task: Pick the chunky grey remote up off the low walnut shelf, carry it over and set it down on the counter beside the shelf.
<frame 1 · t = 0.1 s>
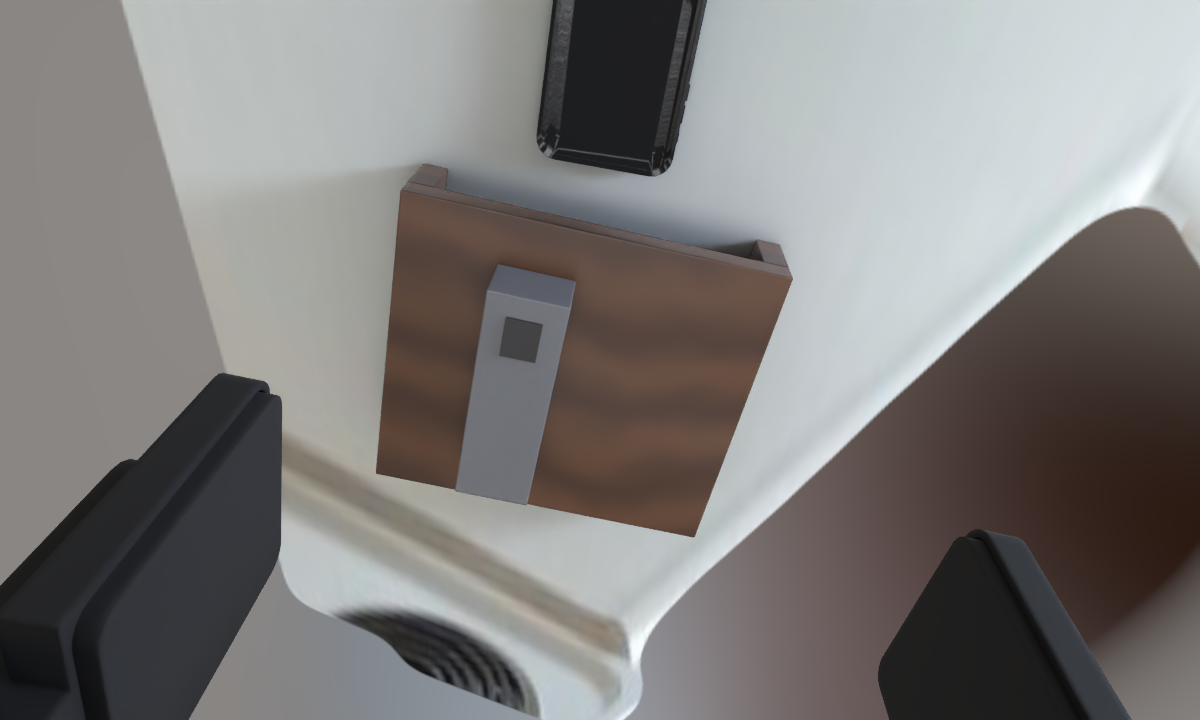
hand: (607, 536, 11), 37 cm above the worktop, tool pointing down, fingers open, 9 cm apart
shelf: (572, 345, 51), on the worktop
grey remote: (517, 374, 47), point 5 cm above the worktop, touching shelf
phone: (626, 24, 41), on the worktop
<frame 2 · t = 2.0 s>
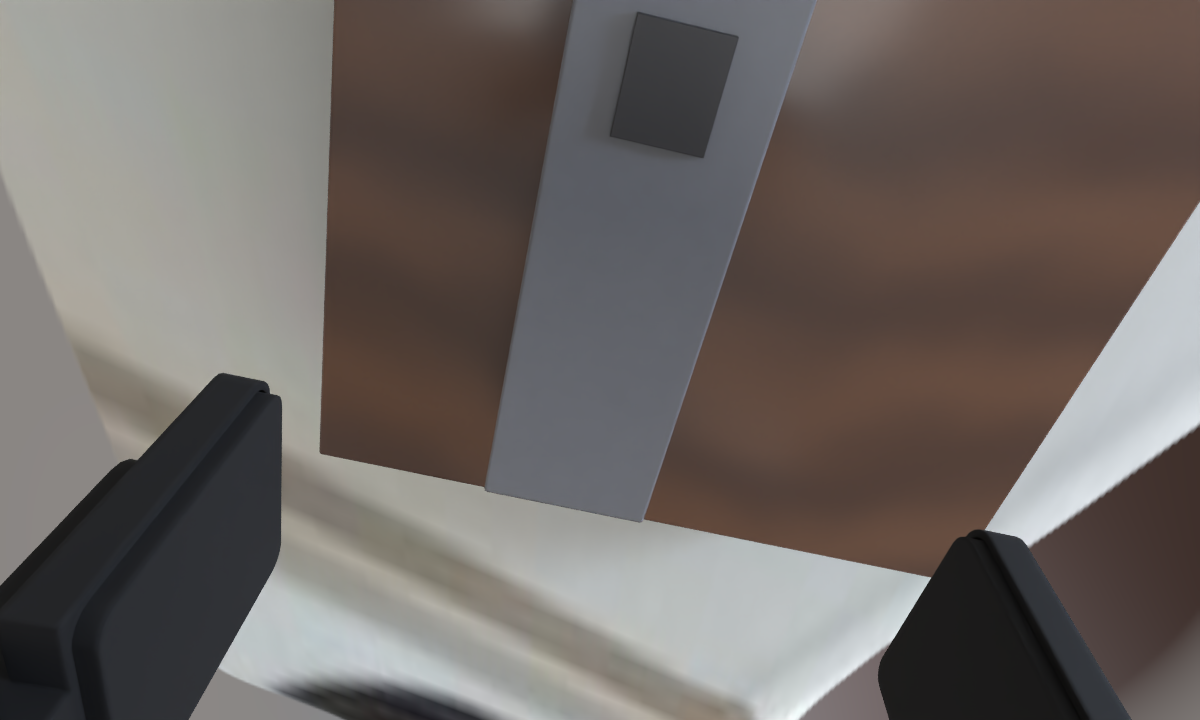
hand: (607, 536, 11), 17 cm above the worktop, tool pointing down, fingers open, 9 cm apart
shelf: (718, 192, 25), on the worktop
grey remote: (624, 229, 21), point 5 cm above the worktop, touching shelf
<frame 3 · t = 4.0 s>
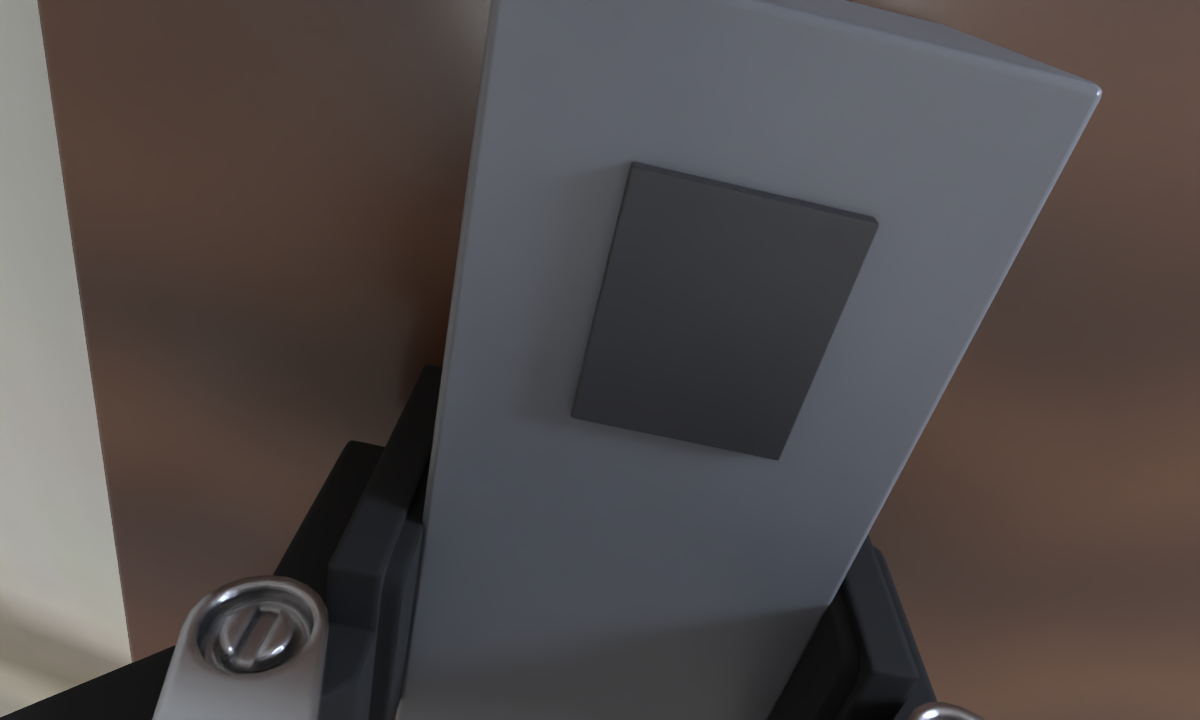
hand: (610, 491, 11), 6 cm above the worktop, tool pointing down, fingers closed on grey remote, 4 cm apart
shelf: (757, 350, 16), on the worktop
grey remote: (611, 468, 12), point 5 cm above the worktop, touching gripper, shelf
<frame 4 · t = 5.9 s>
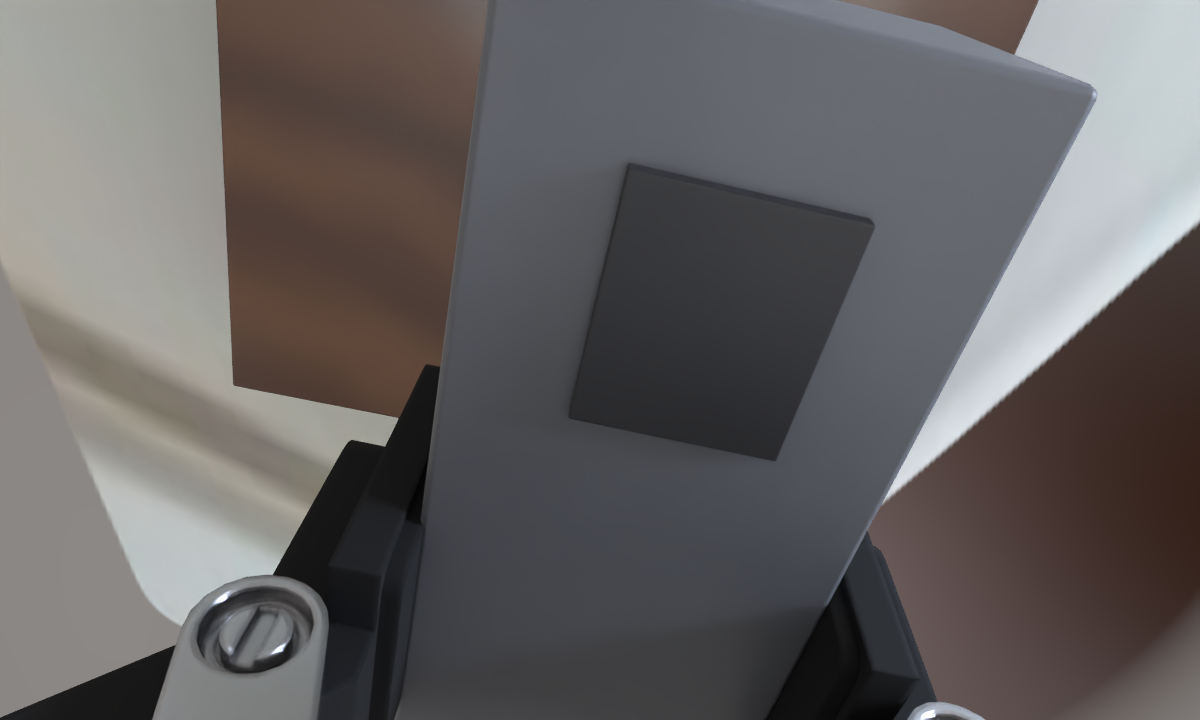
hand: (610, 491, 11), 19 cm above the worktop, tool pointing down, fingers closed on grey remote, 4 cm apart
shelf: (590, 145, 28), on the worktop
grey remote: (610, 468, 12), point 19 cm above the worktop, touching gripper
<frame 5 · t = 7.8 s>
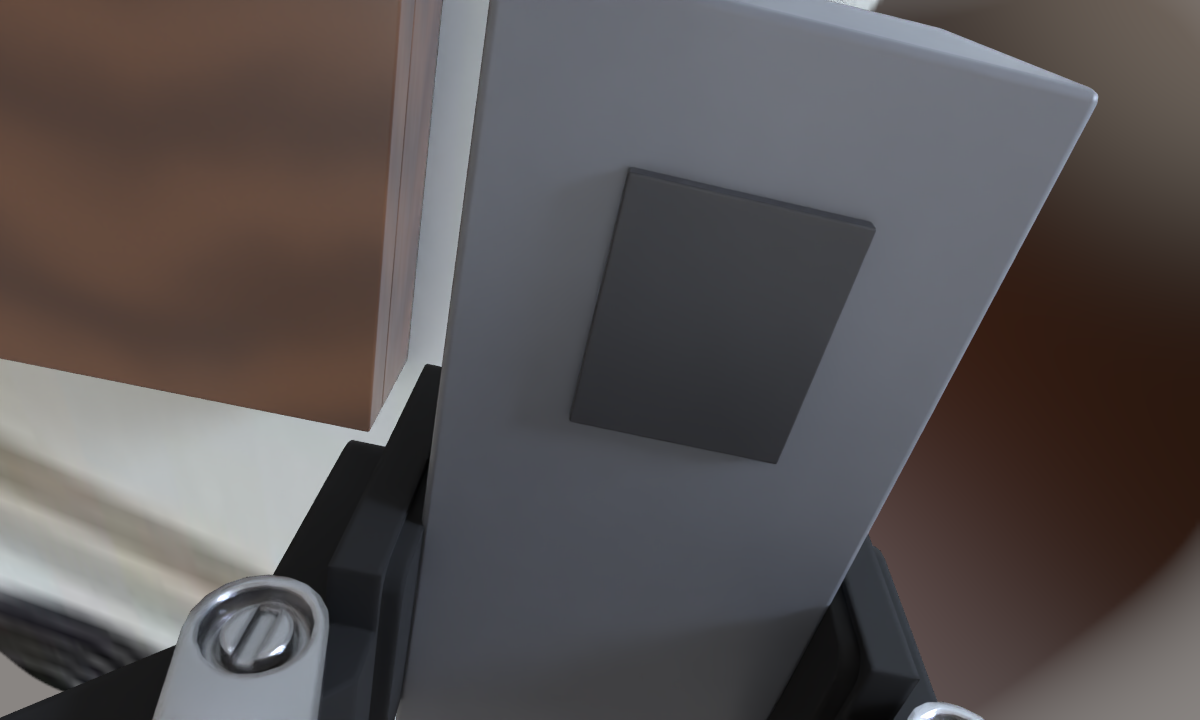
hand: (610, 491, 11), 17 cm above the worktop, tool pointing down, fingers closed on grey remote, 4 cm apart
shelf: (100, 36, 25), on the worktop
grey remote: (611, 470, 12), point 17 cm above the worktop, touching gripper
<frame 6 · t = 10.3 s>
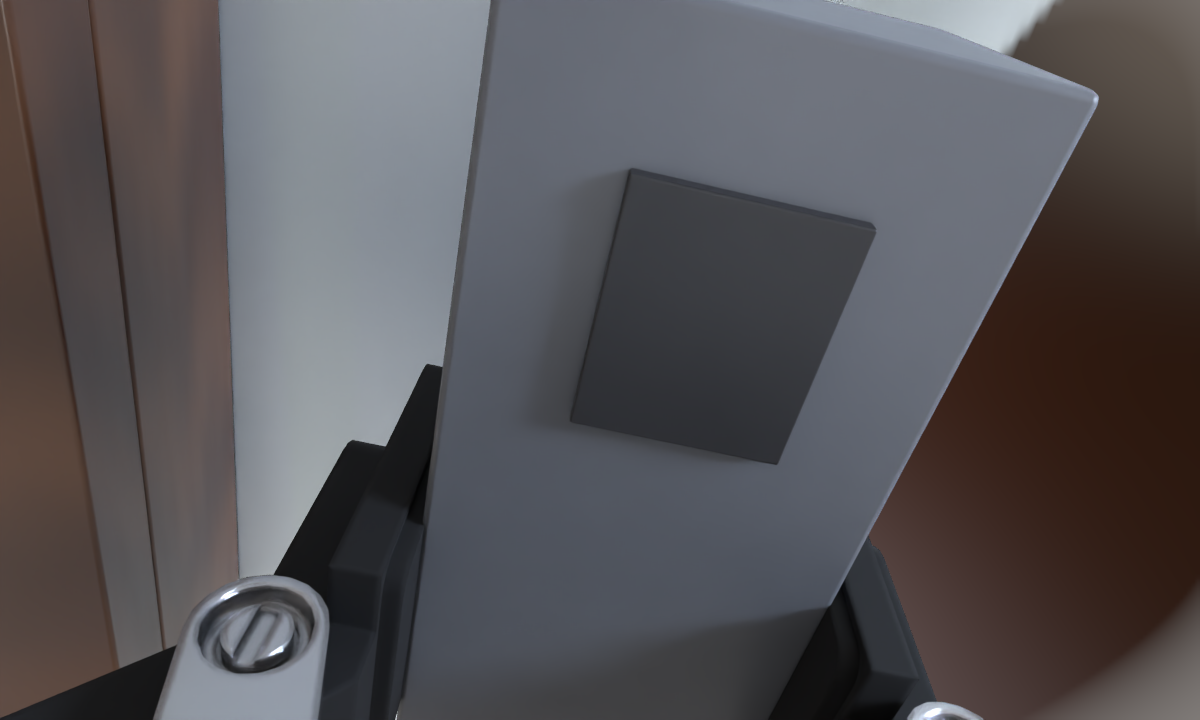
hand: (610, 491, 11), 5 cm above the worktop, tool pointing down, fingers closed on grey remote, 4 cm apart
grey remote: (611, 471, 12), point 5 cm above the worktop, touching gripper
when the fingers open (1 cm above the worktop, at t = 11.9 s): grey remote stays where it is, on the worktop.
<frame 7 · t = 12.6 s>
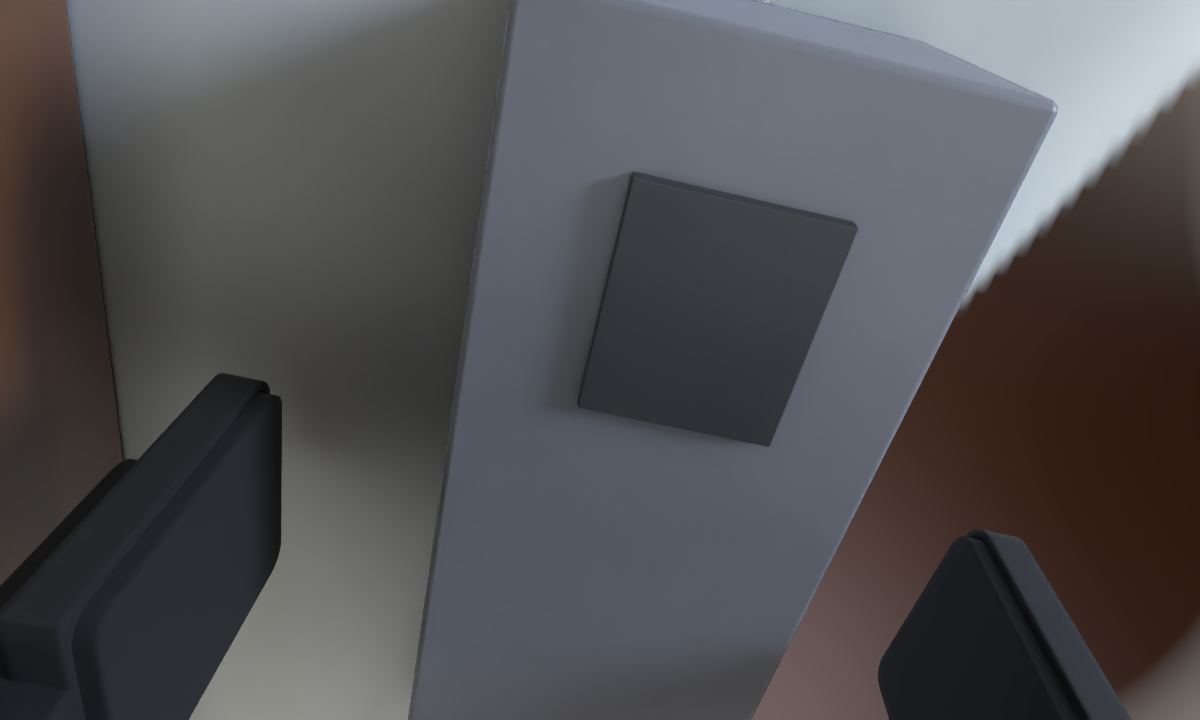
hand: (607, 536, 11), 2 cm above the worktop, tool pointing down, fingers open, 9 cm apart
grey remote: (614, 461, 13), on the worktop
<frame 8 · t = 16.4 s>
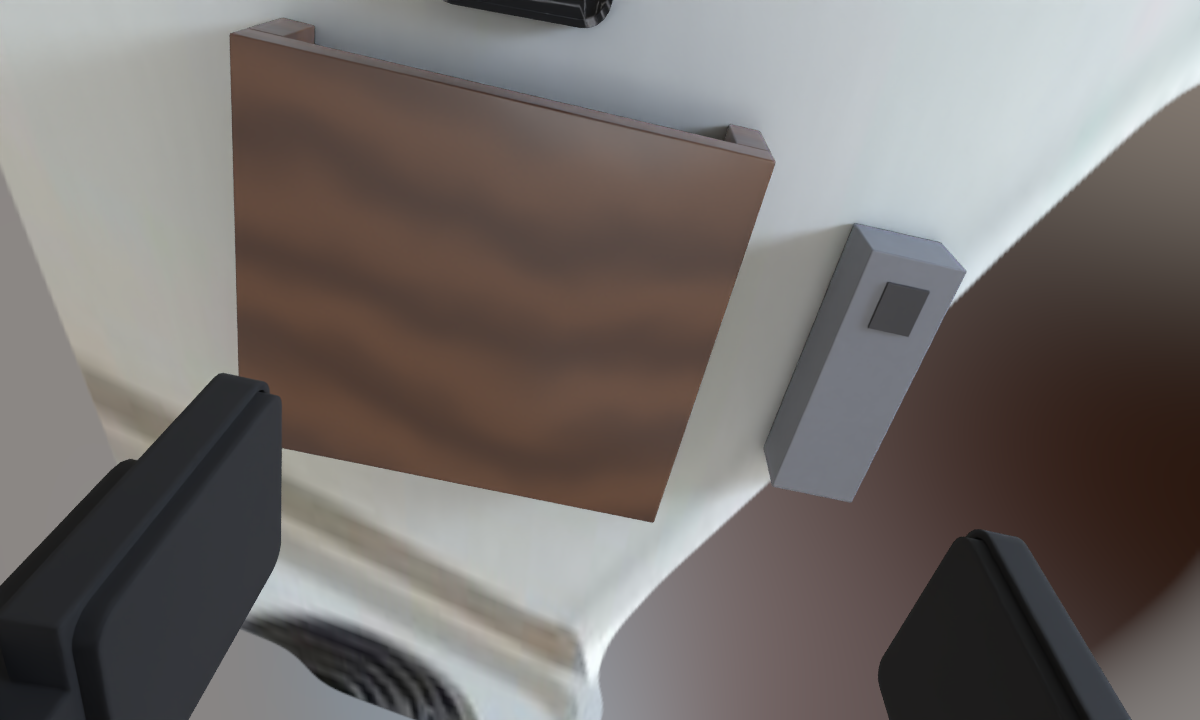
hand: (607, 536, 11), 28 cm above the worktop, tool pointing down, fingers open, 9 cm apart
shelf: (493, 273, 40), on the worktop
grey remote: (845, 353, 41), on the worktop
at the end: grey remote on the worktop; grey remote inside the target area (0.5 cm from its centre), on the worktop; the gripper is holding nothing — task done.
